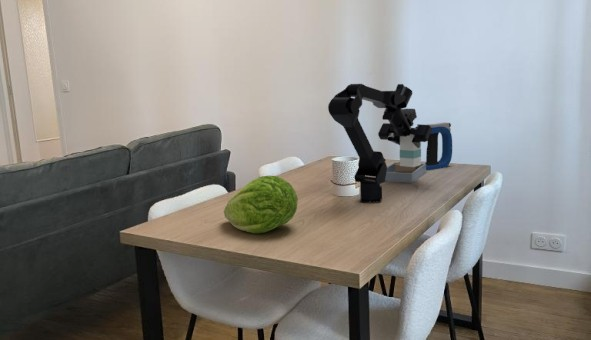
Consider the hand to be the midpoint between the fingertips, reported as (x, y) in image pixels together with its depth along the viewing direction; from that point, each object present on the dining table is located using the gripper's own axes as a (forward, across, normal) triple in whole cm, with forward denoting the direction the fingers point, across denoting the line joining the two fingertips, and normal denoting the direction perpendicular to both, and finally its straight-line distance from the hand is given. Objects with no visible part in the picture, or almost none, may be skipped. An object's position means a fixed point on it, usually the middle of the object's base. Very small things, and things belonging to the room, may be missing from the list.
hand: (412, 146), depth 185 cm
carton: (+4, 0, +6) cm, 7 cm away
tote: (+14, +7, +5) cm, 17 cm away
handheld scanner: (+28, +4, -10) cm, 30 cm away
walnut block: (+18, +9, 0) cm, 20 cm away
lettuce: (-38, +11, +60) cm, 72 cm away
